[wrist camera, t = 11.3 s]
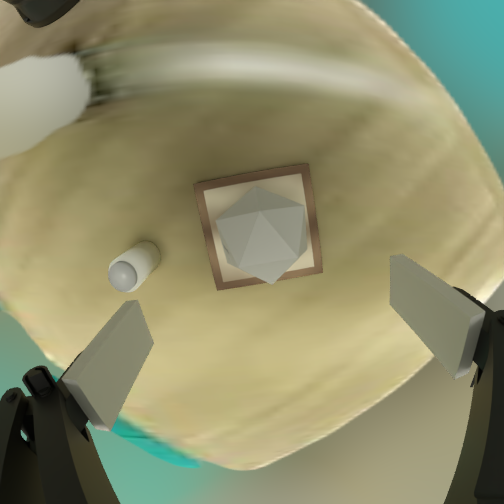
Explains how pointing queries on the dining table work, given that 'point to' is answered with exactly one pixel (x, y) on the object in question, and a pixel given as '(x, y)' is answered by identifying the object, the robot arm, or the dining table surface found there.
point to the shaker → (133, 266)
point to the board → (233, 189)
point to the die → (263, 234)
